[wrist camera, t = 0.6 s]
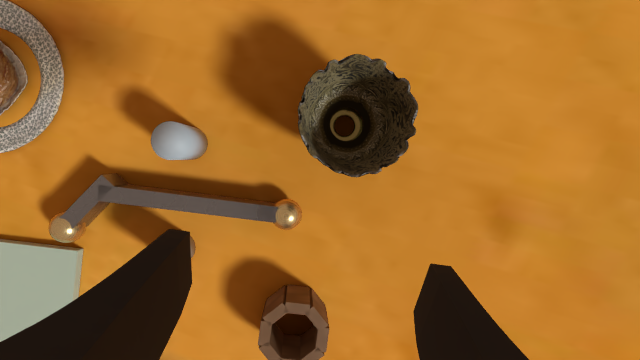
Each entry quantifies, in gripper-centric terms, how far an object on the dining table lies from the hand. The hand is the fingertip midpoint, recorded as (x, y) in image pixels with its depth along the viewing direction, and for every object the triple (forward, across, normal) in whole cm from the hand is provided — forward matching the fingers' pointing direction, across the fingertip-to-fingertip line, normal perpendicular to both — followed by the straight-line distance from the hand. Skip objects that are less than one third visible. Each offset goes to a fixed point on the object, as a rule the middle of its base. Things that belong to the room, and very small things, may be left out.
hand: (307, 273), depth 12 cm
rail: (+17, +10, +11) cm, 23 cm away
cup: (+22, -2, +4) cm, 22 cm away
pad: (+13, +23, +19) cm, 32 cm away
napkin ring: (+14, 0, +18) cm, 23 cm away
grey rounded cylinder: (+20, +10, +6) cm, 23 cm away
